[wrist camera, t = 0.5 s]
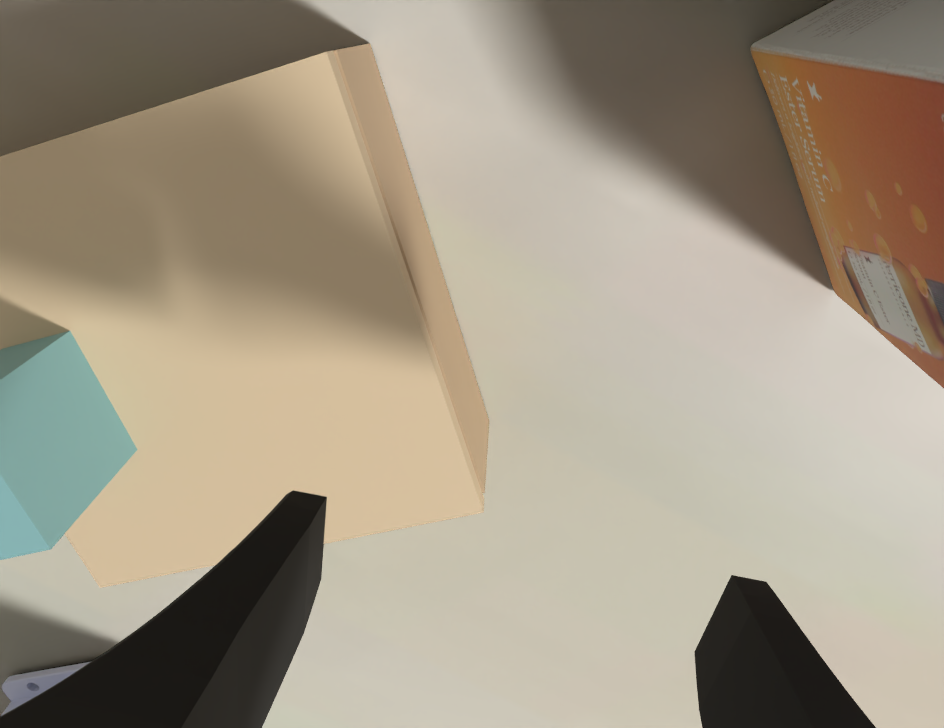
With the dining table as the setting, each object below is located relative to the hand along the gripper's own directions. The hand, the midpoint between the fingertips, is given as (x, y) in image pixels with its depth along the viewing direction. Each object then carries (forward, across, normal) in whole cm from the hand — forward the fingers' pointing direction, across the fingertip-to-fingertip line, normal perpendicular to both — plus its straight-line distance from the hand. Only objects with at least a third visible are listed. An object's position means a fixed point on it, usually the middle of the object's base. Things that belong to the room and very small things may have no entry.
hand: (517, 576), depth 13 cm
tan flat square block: (+6, +9, +1) cm, 11 cm away
